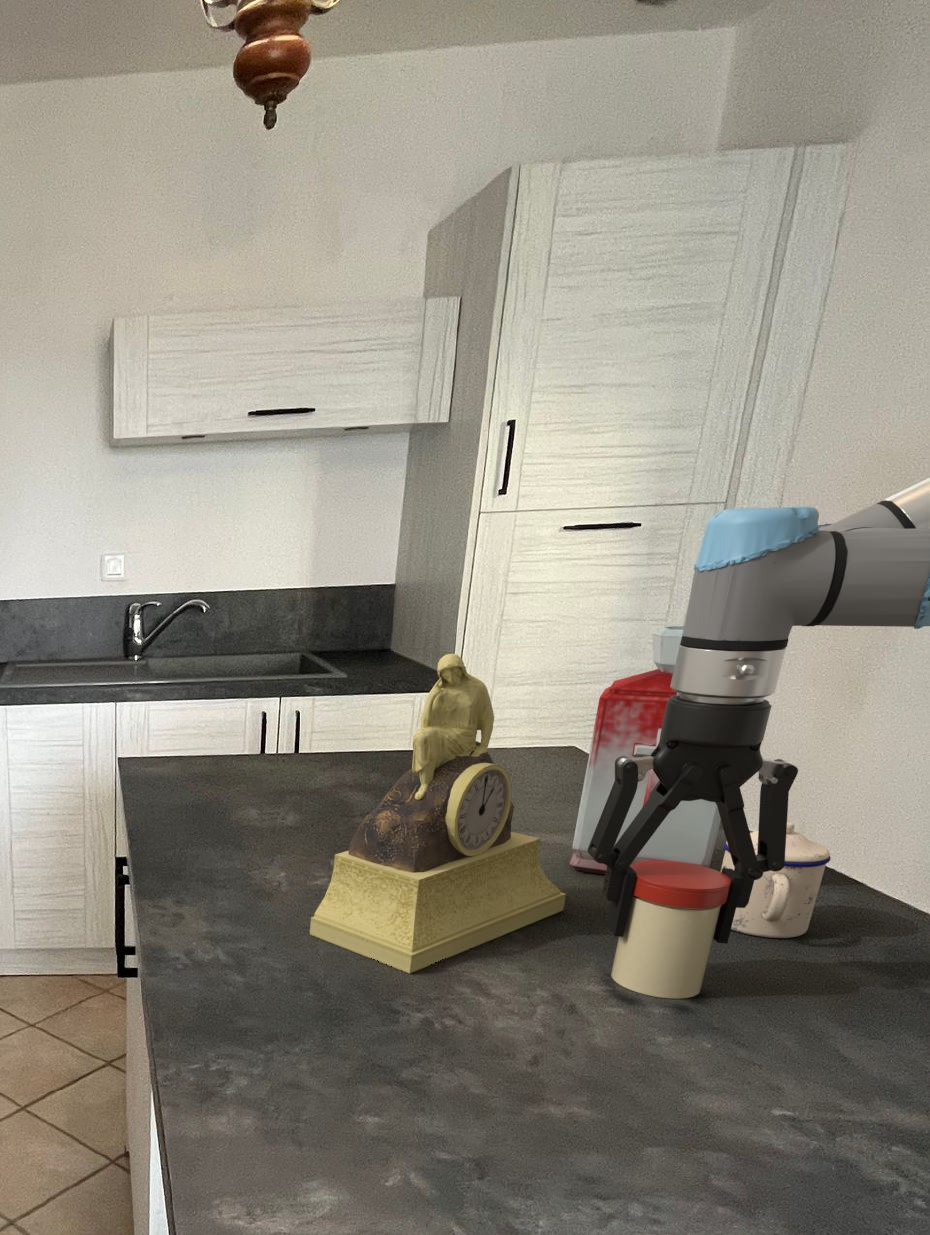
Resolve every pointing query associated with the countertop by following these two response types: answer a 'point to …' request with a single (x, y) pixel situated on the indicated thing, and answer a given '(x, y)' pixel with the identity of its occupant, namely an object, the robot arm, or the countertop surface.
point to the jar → (664, 949)
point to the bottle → (634, 732)
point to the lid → (680, 884)
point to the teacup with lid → (783, 890)
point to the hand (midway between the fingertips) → (665, 934)
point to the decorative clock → (438, 847)
